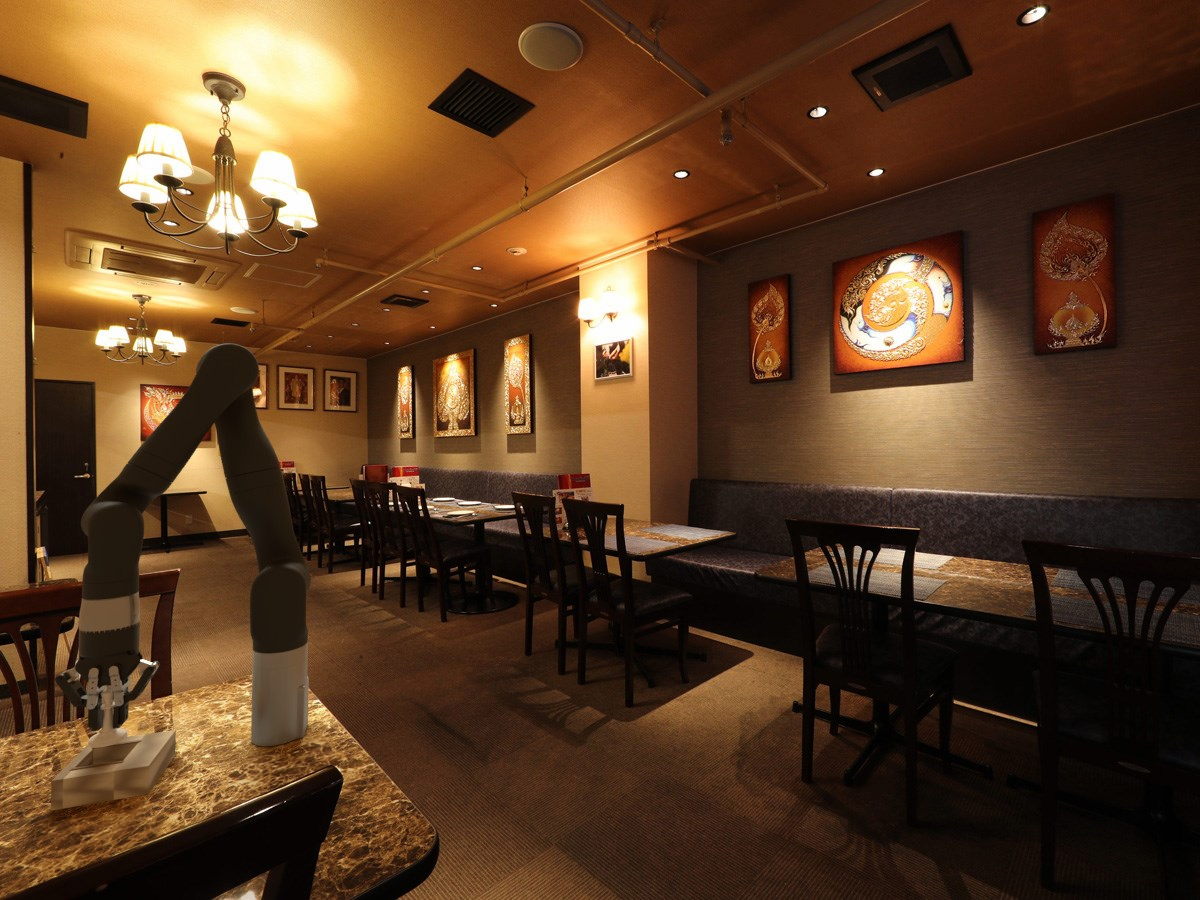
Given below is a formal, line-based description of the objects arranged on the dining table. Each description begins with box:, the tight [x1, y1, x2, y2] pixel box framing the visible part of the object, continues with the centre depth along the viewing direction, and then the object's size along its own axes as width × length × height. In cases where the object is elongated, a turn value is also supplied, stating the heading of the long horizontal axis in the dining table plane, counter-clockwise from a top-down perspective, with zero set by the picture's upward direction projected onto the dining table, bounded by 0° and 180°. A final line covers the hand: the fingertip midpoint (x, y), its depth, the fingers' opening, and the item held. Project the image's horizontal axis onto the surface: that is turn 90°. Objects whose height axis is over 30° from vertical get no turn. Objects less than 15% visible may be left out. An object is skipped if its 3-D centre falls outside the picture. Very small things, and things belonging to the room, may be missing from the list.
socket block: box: [50, 729, 177, 811], centre depth 91 cm, size 12×12×5 cm
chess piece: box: [87, 685, 129, 748], centre depth 91 cm, size 5×5×10 cm
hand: (108, 727), depth 91 cm, fingers closed on chess piece
